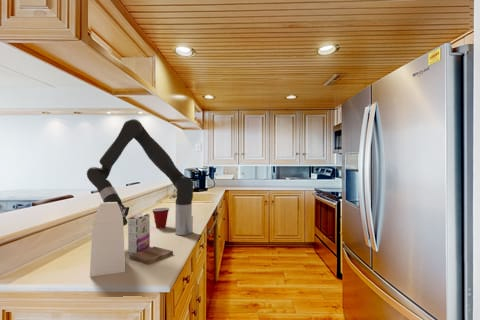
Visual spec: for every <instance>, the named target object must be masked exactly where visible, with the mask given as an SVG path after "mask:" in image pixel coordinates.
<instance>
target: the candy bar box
mask: <svg viewBox="0 0 480 320" xmlns="http://www.w3.org/2000/svg"><path fill="white" fill-rule="evenodd" d="M150 223H151V222H150V213H143V212H141V213H139V214H134V215H132V216H131V217H128V218H127V233H128V234H127V238H128V239H127V240H128V241H127V242H128V245H127V246H128V248H127V249H128V254H134V253H137V252H140V251H143V250H146V249H149V248H150V247H151V246H150V245H151V244H150V242H151V241H150V240H151V239H150V238H151V237H150V233H151V231H150V228H151V227H150V225H151V224H150Z"/></svg>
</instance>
